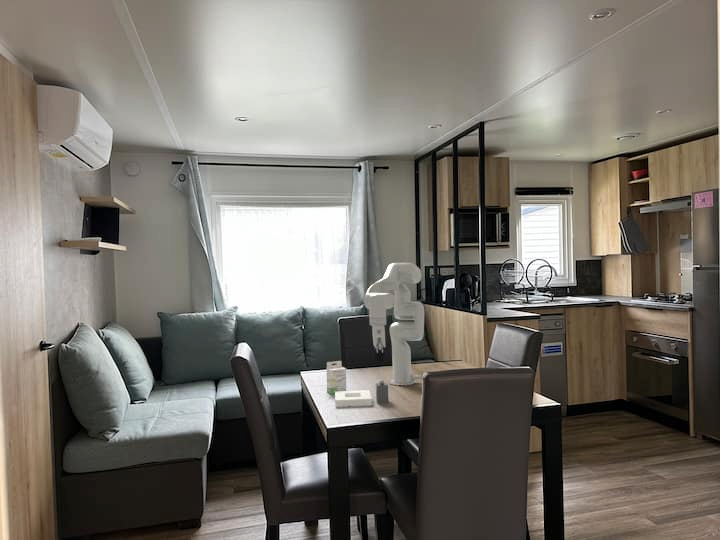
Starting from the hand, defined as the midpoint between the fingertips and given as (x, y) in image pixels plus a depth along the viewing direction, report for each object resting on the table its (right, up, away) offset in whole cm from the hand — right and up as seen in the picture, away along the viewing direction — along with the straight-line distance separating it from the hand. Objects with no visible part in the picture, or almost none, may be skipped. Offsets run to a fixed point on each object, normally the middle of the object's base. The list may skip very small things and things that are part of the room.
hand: (379, 359), depth 229 cm
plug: (+1, -19, 0) cm, 19 cm away
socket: (-12, -19, +2) cm, 22 cm away
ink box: (-20, -20, +20) cm, 34 cm away
